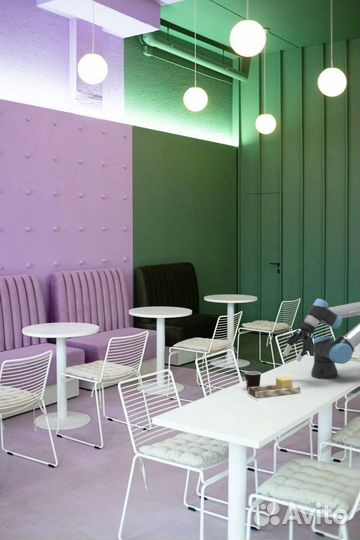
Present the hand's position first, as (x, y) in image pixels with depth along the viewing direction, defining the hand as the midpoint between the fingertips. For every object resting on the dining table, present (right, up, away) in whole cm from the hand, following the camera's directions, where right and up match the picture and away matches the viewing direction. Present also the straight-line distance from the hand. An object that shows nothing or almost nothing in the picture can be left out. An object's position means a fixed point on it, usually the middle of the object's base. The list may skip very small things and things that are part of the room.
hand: (291, 358), depth 341 cm
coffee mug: (-21, -17, -6) cm, 28 cm away
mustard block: (-6, -16, -15) cm, 23 cm away
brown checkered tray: (-12, -17, -17) cm, 27 cm away
